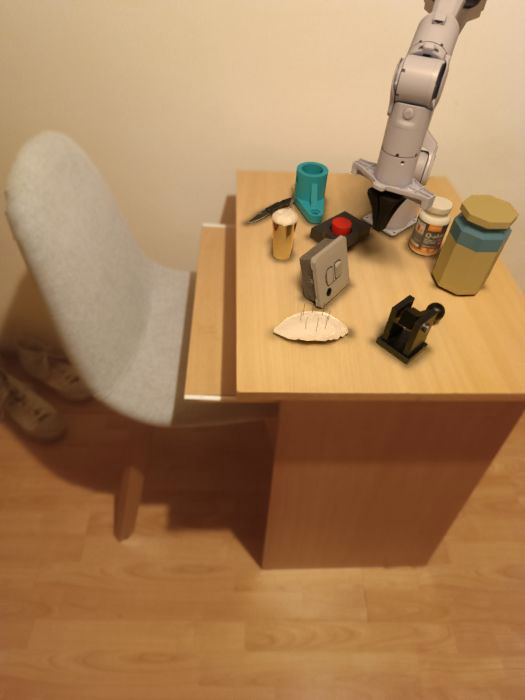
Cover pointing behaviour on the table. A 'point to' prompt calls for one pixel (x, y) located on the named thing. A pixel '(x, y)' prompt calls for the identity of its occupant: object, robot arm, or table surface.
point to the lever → (420, 314)
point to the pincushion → (311, 326)
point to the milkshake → (283, 232)
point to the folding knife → (271, 209)
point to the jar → (474, 244)
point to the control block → (356, 234)
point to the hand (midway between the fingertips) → (379, 228)
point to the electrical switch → (325, 270)
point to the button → (341, 226)
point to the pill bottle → (431, 227)
